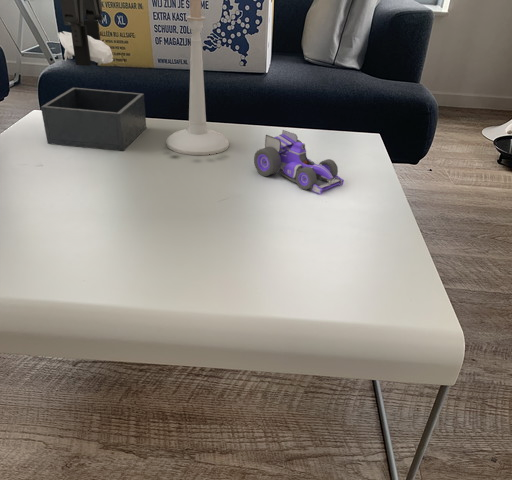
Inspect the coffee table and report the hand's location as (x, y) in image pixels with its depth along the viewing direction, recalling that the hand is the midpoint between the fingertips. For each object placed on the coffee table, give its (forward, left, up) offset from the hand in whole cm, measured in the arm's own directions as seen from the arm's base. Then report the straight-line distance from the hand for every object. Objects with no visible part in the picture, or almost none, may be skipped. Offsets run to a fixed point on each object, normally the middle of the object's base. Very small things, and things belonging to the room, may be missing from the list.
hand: (89, 61), depth 104 cm
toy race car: (+43, -12, -14) cm, 47 cm away
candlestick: (+21, +1, -14) cm, 25 cm away
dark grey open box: (0, +1, -14) cm, 14 cm away
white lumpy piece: (0, 0, 0) cm, 1 cm away
